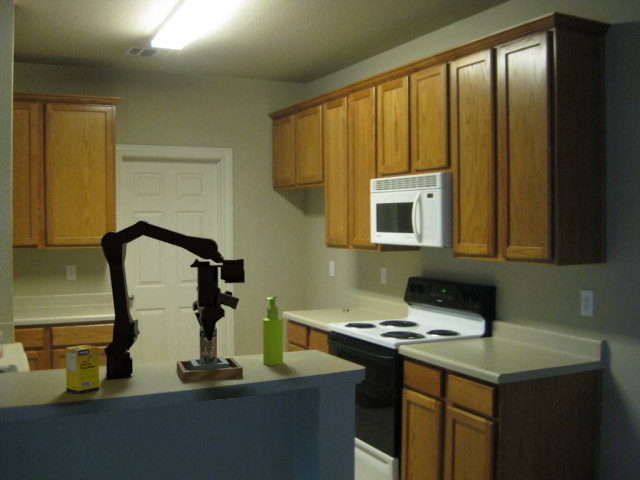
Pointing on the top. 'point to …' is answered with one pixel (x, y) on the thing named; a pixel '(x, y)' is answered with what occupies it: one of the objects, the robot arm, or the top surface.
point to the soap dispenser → (272, 335)
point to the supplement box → (82, 369)
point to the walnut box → (209, 371)
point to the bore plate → (195, 364)
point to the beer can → (208, 348)
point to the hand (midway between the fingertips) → (208, 339)
